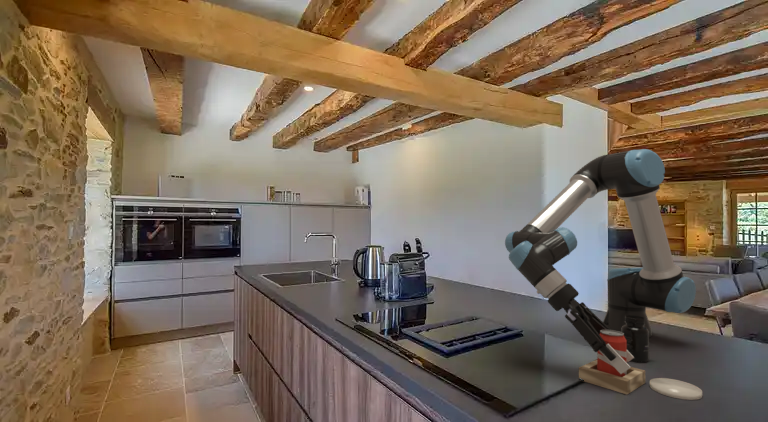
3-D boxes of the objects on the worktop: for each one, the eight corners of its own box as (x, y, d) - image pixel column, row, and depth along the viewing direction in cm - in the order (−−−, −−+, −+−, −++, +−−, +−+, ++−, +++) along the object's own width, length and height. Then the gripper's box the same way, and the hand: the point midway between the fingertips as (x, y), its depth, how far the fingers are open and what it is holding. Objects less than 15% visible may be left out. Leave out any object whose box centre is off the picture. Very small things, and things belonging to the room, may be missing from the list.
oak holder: (598, 369, 108) (598, 358, 108) (645, 382, 100) (645, 370, 100) (578, 379, 101) (578, 367, 101) (627, 394, 93) (627, 381, 93)
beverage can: (632, 384, 98) (632, 334, 99) (611, 387, 97) (611, 336, 97) (612, 375, 104) (612, 328, 104) (591, 378, 102) (591, 329, 103)
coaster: (658, 378, 102) (658, 374, 102) (707, 392, 94) (707, 387, 94) (643, 388, 96) (642, 384, 96) (694, 404, 88) (694, 399, 88)
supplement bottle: (653, 364, 113) (653, 320, 113) (626, 362, 114) (626, 319, 115) (643, 356, 120) (642, 315, 120) (617, 354, 121) (617, 313, 121)
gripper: (556, 294, 118) (620, 362, 108) (535, 306, 101) (609, 387, 92) (576, 277, 115) (643, 346, 105) (558, 287, 98) (636, 369, 89)
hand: (627, 365), depth 98 cm, fingers open, 8 cm apart
